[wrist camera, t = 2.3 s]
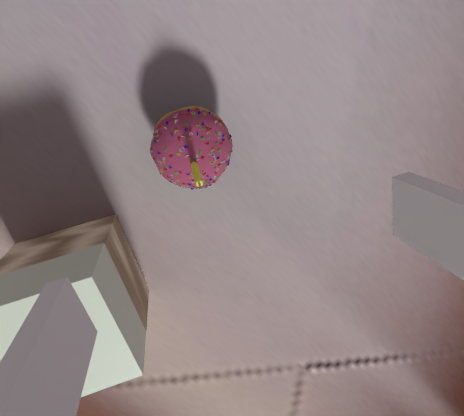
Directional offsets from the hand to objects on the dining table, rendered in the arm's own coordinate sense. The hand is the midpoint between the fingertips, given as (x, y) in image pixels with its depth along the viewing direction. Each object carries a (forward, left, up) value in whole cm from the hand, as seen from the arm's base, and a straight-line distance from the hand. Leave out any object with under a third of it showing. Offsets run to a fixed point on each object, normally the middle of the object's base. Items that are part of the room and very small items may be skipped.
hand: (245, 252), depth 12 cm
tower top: (-17, -12, -19) cm, 28 cm away
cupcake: (0, 0, -27) cm, 27 cm away
